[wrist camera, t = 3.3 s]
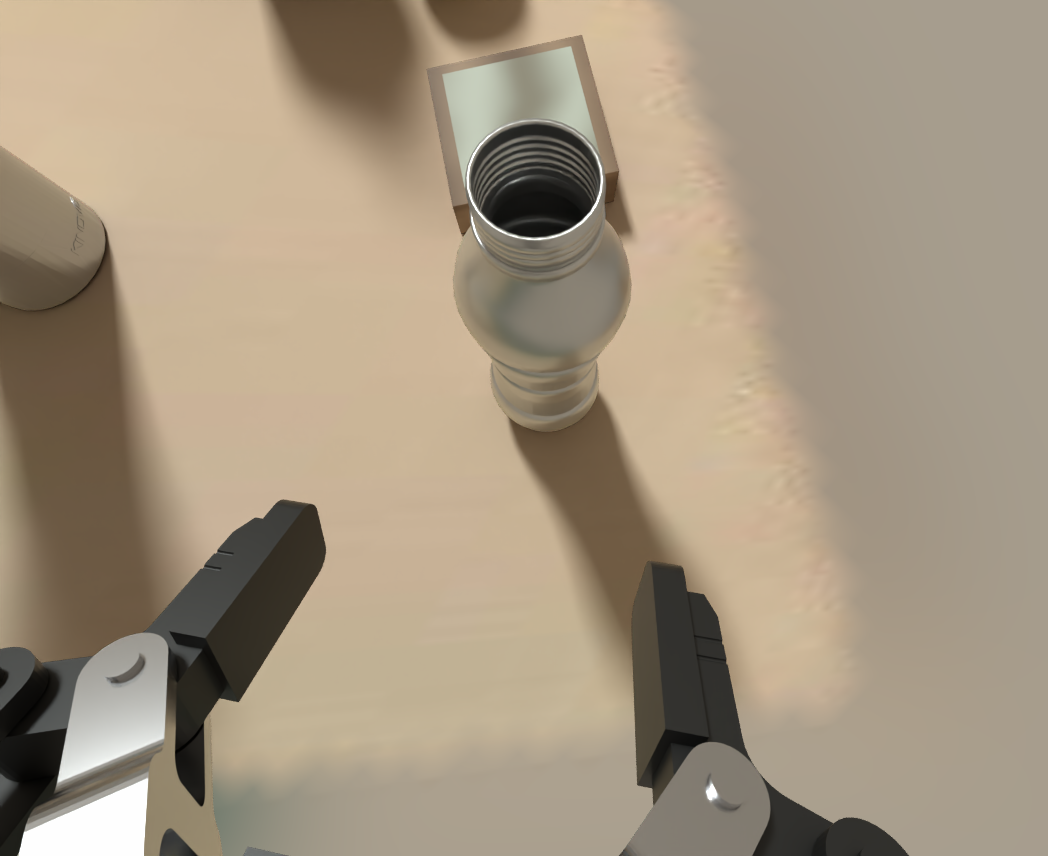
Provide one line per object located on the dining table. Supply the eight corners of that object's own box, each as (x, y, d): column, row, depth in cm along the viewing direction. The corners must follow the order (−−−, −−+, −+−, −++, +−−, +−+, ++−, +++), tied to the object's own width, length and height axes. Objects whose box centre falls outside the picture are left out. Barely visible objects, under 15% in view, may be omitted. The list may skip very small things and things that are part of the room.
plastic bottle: (545, 323, 33) (536, 26, 13) (617, 392, 32) (722, 180, 12) (474, 386, 32) (354, 174, 13) (544, 460, 31) (531, 352, 11)
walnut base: (461, 233, 34) (451, 204, 31) (436, 105, 37) (425, 65, 33) (613, 201, 34) (619, 168, 31) (579, 74, 36) (582, 31, 33)
